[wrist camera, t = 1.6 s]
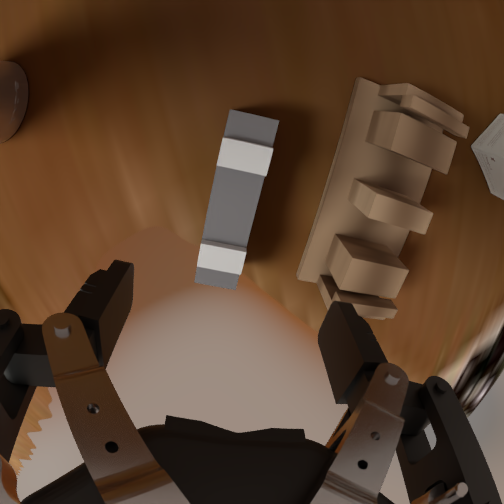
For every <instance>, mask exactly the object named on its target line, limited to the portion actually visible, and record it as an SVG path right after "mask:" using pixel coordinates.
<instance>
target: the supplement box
mask: <svg viewBox="0 0 504 504" xmlns="http://www.w3.org/2000/svg"><path fill="white" fill-rule="evenodd" d="M471 148H472V150H473V152H474V154H475V156H476V158H477V160H478V162H479V164H480V166H481V169H482V171H483V173H484V176H485V178H486V181H487V184H488V186H489V189H490V192H491V194H493V195H495V196H497V197H499V198H501V199H503V200H504V114H501V113H500V114H499V115H498V116H497V117H496V118H495V120H494V121H493V122H492V123H491V124H490V125H489V126H488V127H487V129H486V130H485V131H484V132H483V133H482V134H481V135H480V136H479V137H478V138H477V140H475V142H474V143H473V144H472V145H471Z"/></svg>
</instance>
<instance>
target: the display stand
mask: <svg viewBox="0 0 504 504" xmlns="http://www.w3.org/2000/svg"><path fill="white" fill-rule="evenodd" d="M463 117H464V115H463V114H461V113H460V112H458V111H457V110H455V109H454V108H452V107H450V106H449V105H447V104H445V103H444V102H442V101H440V100H439V99H437V98H435V97H433V96H432V95H430V94H428V93H426V92H424V91H423V90H421V89H419V88H417V87H415V86H413V85H411V84H409V83H404V84H391V85H378V84H376V83H373V82H371V81H369V80H366V79H364V78H361V77H358V78H356V80H355V84H354V88H353V92H352V95H351V99H350V103H349V107H348V110H347V114H346V118H345V121H344V125H343V128H342V132H341V135H340V139H339V142H338V146H337V149H336V152H335V156H334V159H333V163H332V166H331V169H330V173H329V176H328V179H327V182H326V186H325V189H324V192H323V195H322V198H321V202H320V205H319V208H318V211H317V214H316V217H315V220H314V223H313V226H312V229H311V232H310V235H309V238H308V241H307V244H306V247H305V250H304V253H303V256H302V259H301V262H300V265H299V268H298V271H297V273H296V276H297V278H298V280H303V281H309V282H314V283H317V285H318V288H319V290H320V293H321V295H322V297H323V300H324V302H325V305H326V307H327V309H328V310H329V308H330V305H331V304H332V302H333V301H341V302H348V303H352V304H353V306H354V308H355V310H356V312H357V314H358V316H361V317H364V318H372V319H381V320H384V319H385V318H394V316H395V314H396V312H397V310H398V309H397V308H396V306H395V305H394V303H393V302H392V301H391V300H389V299H382V298H379V296H383V297H390V298H396V296H397V294H398V292H399V290H400V288H401V286H402V284H403V282H404V280H405V278H406V276H407V274H408V272H409V270H408V269H407V267H406V266H405V265H404V264H403V263H402V262H401V261H400V260H399V259H398V257H399V254H400V252H401V250H402V248H403V245H404V243H405V240H406V238H407V236H408V233H409V231H410V230H411V231H415V232H418V233H421V234H424V235H425V233H426V231H427V228H428V226H429V223H430V221H431V218H432V216H433V213H432V212H431V211H429V210H428V209H426V208H424V207H423V206H421V205H420V202H421V199H422V197H423V194H424V191H425V188H426V185H427V182H428V179H429V176H430V173H431V170H432V169H434V170H437V171H439V172H441V173H444V174H446V175H447V174H448V170H449V167H450V164H451V161H452V158H453V154H454V151H455V147H456V144H457V142H456V141H455V140H453V139H451V138H449V137H447V136H446V135H444V134H442V133H443V129H444V130H446V131H448V132H450V133H451V134H453V135H455V136H459V137H462V138H466V139H467V135H468V131H469V127H468V126H467V125H465V124H463V123H462V121H463Z"/></svg>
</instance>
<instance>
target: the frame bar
mask: <svg viewBox="0 0 504 504" xmlns="http://www.w3.org/2000/svg"><path fill="white" fill-rule="evenodd" d="M278 124H279V121H278V120H274V119H270V118H266V117H262V116H258V115H254V114H249V113H245V112H240V111H235V110H231V109H230V111H229V115H228V120H227V124H226V128H225V132H224V136H223V140H222V144H221V148H220V153H219V157H218V162H217V168H216V172H215V177H214V182H213V186H212V191H211V196H210V201H209V206H208V211H207V216H206V221H205V226H204V231H203V237H202V241H201V246H200V252H199V257H198V263H197V271H196V276H195V283H200V284H205V285H211V286H217V287H222V288H227V289H233V290H236V286H237V282H238V277H239V275H240V274H241V272H242V268H243V264H244V260H245V256H246V253H247V252H246V247H247V243H248V239H249V235H250V231H251V227H252V223H253V220H254V216H255V212H256V208H257V204H258V200H259V196H260V193H261V189H262V185H263V181H264V177H265V176H267V172H268V168H269V164H270V161H271V157H272V153H273V148H272V147H273V143H274V139H275V135H276V131H277V128H278Z"/></svg>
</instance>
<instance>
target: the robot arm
mask: <svg viewBox="0 0 504 504" xmlns="http://www.w3.org/2000/svg"><path fill="white" fill-rule="evenodd" d="M27 103H28V82H27V78H26V75H25V73H24V71H23V69H22V68H21V67H20V66H19V65H18V64H16V63H15V62H10V61H0V143H3V142H5V141H7V140H8V139H10V138H11V137H12V136H13V135H14V134H15V132H16V131H17V129H18V128H19V126H20V124H21V122H22V120H23V118H24V115H25V112H26V108H27ZM133 279H134V265H133V263H129V262H123V261H119V260H114V261H113V263H112V264H111V266H110V267H109V268H108V270H107V271H105V270H101V269H100V270H98V271H97V272H95V273H93V274H91V275H90V276H89V278H88V279H87V280H86V282H85V284H84V285H83V286H82V287H81V289H80V291H78V293H77V294H76V296H75V297H74V298H73V300H72V301H71V303H70V304H69V306H68V307H67V309H66V310H65V311H64V313H57V314H54V315H51V316H50V317H48V318H47V319H46V320H45V321H44V323H43V324H42V325H37V324H22V323H21V320H20V317H19V315H18V314H17V313H16V312H15V311H12V310H9V309H2V310H0V504H394V503H393V502H392V501H390V500H389V499H388V498H387V497H385V496H384V495H383V494H382V493H380V492H379V491H380V489H381V486H382V484H383V482H384V479H385V477H386V474H387V471H388V469H389V466H390V463H391V461H392V458H393V455H394V453H395V450H396V453H397V456H398V460H399V463H400V467H401V470H402V474H403V478H404V481H405V485H406V489H407V493H408V497H409V501H410V504H502V502H501V499H500V496H499V493H498V490H497V488H496V485H495V482H494V480H493V478H492V474H491V472H490V469H489V467H488V465H487V462H486V459H485V457H484V455H483V452H482V450H481V448H480V445H479V443H478V441H477V439H476V436H475V434H474V432H473V430H472V428H471V425H470V424H469V421H468V419H467V417H466V415H465V413H464V411H463V409H462V407H461V405H460V403H459V401H458V399H457V397H456V395H455V393H454V391H453V389H452V387H451V386H450V385H449V383H448V382H447V381H445V380H444V379H442V378H440V377H438V376H431V377H429V378H428V379H427V380H426V381H425V383H424V384H419V383H415V382H411V381H409V379H408V376H407V374H406V373H405V372H404V371H403V370H402V369H401V368H400V367H398V366H397V365H395V364H392V363H388V361H387V359H386V357H385V355H384V353H383V351H382V349H381V347H380V345H379V343H378V341H376V340H377V339H376V337H375V336H374V334H373V332H372V330H371V328H370V326H369V324H368V323H367V322H366V321H365V320H364V319H363V318H362V317H361V316H358V314H357V312H356V310H355V308H354V306H353V304H352V303H348V302H341V301H333V302H332V304H331V305H330V308H329V310H328V312H327V314H326V316H325V319H324V321H323V323H322V325H321V327H320V330H319V333H318V344H319V347H320V351H321V354H322V357H323V361H324V364H325V367H326V371H327V374H328V378H329V381H330V384H331V388H332V391H333V395H334V398H335V402H336V404H348V409H347V410H346V411H345V413H344V414H343V416H342V418H341V420H340V422H339V424H338V425H337V427H336V429H335V431H334V432H333V434H332V435H331V437H330V439H329V440H328V442H327V444H326V445H325V446H323V445H322V444H320V443H317V442H315V441H312V440H309V439H305V433H304V429H280V428H270V429H264V430H257V431H251V432H243V433H235V432H232V431H229V430H225V429H223V428H219V427H217V426H214V425H211V424H208V423H205V422H202V421H197V420H190V419H185V418H179V417H173V416H168V415H167V416H166V421H165V424H163V425H151V426H146V427H143V428H139V429H136V427H135V426H134V424H133V422H132V420H131V419H130V417H129V415H128V413H127V411H126V410H125V408H124V406H123V404H122V402H121V400H120V398H119V396H118V394H117V392H116V390H115V388H114V386H113V384H112V382H111V380H110V378H109V376H108V374H107V372H106V370H105V369H106V367H107V364H108V362H109V359H110V357H111V355H112V352H113V350H114V347H115V345H116V342H117V340H118V338H119V335H120V333H121V331H122V328H123V326H124V324H125V322H126V319H127V317H128V315H129V312H130V310H131V306H132V300H133ZM37 386H43V387H56V389H57V392H58V395H59V398H60V401H61V404H62V407H63V410H64V413H65V416H66V419H67V421H68V424H69V426H70V429H71V432H72V434H73V437H74V439H75V441H76V444H77V446H78V449H79V450H80V453H81V455H82V458H83V460H84V463H82V464H81V465H79V466H78V467H76V468H74V469H73V470H71V471H70V472H68V473H66V474H65V475H63V476H61V477H60V478H58V479H57V480H55V481H53V482H52V483H50V484H48V485H46V486H45V487H43V488H41V489H40V490H38V491H36V492H34V493H33V494H31V495H29V496H28V497H26V498H25V499H24V500H23V501H22V502H20V500H19V498H18V495H17V477H16V473H15V471H14V469H13V467H12V466H11V465H10V464H9V460H10V456H11V453H12V450H13V447H14V444H15V441H16V438H17V435H18V433H19V430H20V427H21V424H22V422H23V419H24V416H25V414H26V411H27V409H28V406H29V404H30V401H31V399H32V397H33V394H34V392H35V389H36V387H37ZM430 423H431V425H432V428H433V430H434V433H435V435H436V440H437V441H436V445H435V447H434V449H433V450H431V447H430V445H429V442H428V440H427V437H426V434H425V432H424V429H425V428H426V427H427V425H429V424H430Z"/></svg>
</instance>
